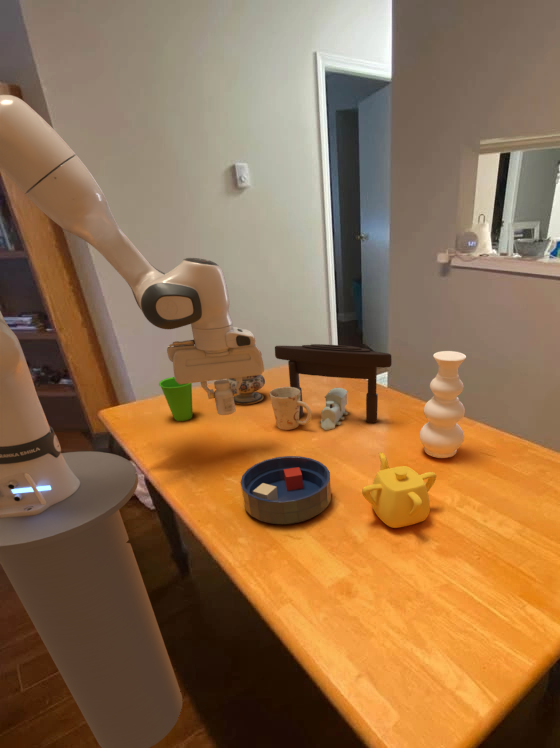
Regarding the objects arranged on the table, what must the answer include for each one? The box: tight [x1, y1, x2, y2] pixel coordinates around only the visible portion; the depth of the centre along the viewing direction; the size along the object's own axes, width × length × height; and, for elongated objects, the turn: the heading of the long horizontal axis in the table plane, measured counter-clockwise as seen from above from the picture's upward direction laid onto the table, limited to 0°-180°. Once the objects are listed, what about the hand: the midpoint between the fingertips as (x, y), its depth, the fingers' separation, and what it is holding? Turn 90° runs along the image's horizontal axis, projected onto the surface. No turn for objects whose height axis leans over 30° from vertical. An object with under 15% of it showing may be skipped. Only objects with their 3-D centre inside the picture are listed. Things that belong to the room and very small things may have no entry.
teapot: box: [361, 451, 437, 529], centre depth 91 cm, size 14×13×10 cm
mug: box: [269, 386, 313, 431], centre depth 127 cm, size 8×13×10 cm, turn 64°
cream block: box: [253, 483, 278, 500], centre depth 95 cm, size 4×4×4 cm
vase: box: [419, 350, 467, 459], centre depth 110 cm, size 11×11×25 cm
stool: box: [274, 343, 393, 432], centre depth 129 cm, size 16×21×33 cm
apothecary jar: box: [225, 351, 266, 406], centre depth 143 cm, size 12×12×18 cm
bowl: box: [239, 455, 332, 525], centre depth 96 cm, size 18×18×6 cm
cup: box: [158, 376, 194, 422], centre depth 133 cm, size 9×9×11 cm
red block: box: [284, 467, 303, 491], centre depth 101 cm, size 4×4×4 cm
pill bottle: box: [213, 379, 236, 416], centre depth 110 cm, size 4×4×8 cm
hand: (224, 396), depth 110 cm, fingers closed on pill bottle, 4 cm apart
